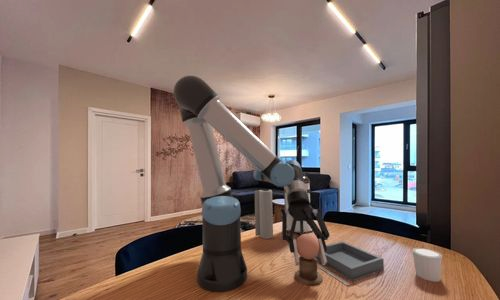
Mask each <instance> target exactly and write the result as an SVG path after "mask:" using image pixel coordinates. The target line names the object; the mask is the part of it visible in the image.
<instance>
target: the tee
mask: <svg viewBox="0 0 500 300" xmlns="http://www.w3.org/2000/svg"><path fill="white" fill-rule="evenodd" d="M317 264H318V260H317V259H316V257H315V258H313V259H305V258H303V257H301V256H300V255H299V265H298V269H297V270H296V271H295V273H294V279H295V280H296V281H297V282H298V283H300V284H303V285H305V286H318V285H320V284H321V283H322V282H323V279H324V278H323V274H322V273H320V272H318V267H317Z"/></svg>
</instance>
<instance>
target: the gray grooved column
mask: <svg viewBox="0 0 500 300" xmlns="http://www.w3.org/2000/svg"><path fill="white" fill-rule="evenodd" d="M273 209H274V208H273V190H272V189H258V190H254V224H255V225H254V227H255V228H254V229H255V237H260V238H262V239H264V240H267V239H272V238H273V237H274V221H273V220H274V216H273V214H274V213H273V212H274V211H273Z"/></svg>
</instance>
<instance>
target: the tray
mask: <svg viewBox="0 0 500 300" xmlns="http://www.w3.org/2000/svg"><path fill="white" fill-rule="evenodd" d="M326 247H327V250H326V252H325V256H326V260H327V262H326V264H325V265H324V266H326V267H328V268H330V269H331V270H333V271H334V272H336V273H338V274H339V275H341V276H343V277H345V278H346V279H348V280H350V281H351V282H354V281H356V280H359V279H361V278H365V277H368V276H370V275H371V276H372V275H374V274H376V273H379V272H382V271H384V270H385V262H384V258H383V257H381V256H378V255H376V254H374V253H371V252H369V251H367V250H364V249H362V248H360V247H357V246H354V245H352V244H349V243H347V242H345V241H338V242H334V243H330V244H326ZM316 259H317V262H319V263H321V264H322V262H321V258H320V253H318V255H317V256H316Z"/></svg>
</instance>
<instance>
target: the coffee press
mask: <svg viewBox="0 0 500 300" xmlns="http://www.w3.org/2000/svg"><path fill="white" fill-rule="evenodd" d="M303 177H304V182H305V186H306V189H307V194H308V197H309V201H310V202H311V188H310V185H311V181H310V179H309V177H308V176H307V175H303ZM283 195H284V196H283V197H284V199H283V201H284V210H286V209H288V201H287V194H286V188H285V186H284V187H283ZM292 222H293V217H292V216H291V215H290V214H289V213H288V215H287V232H290V231H291V226H292ZM309 231H310V232H311V233H314V232H313V231H312V230H311V227H310V226H309V224H307V222H306V221H297V222H296V226H295V231H294V233H298V234H299V235H300V236H301V235H303V234H305V233H306V232H309Z"/></svg>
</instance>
